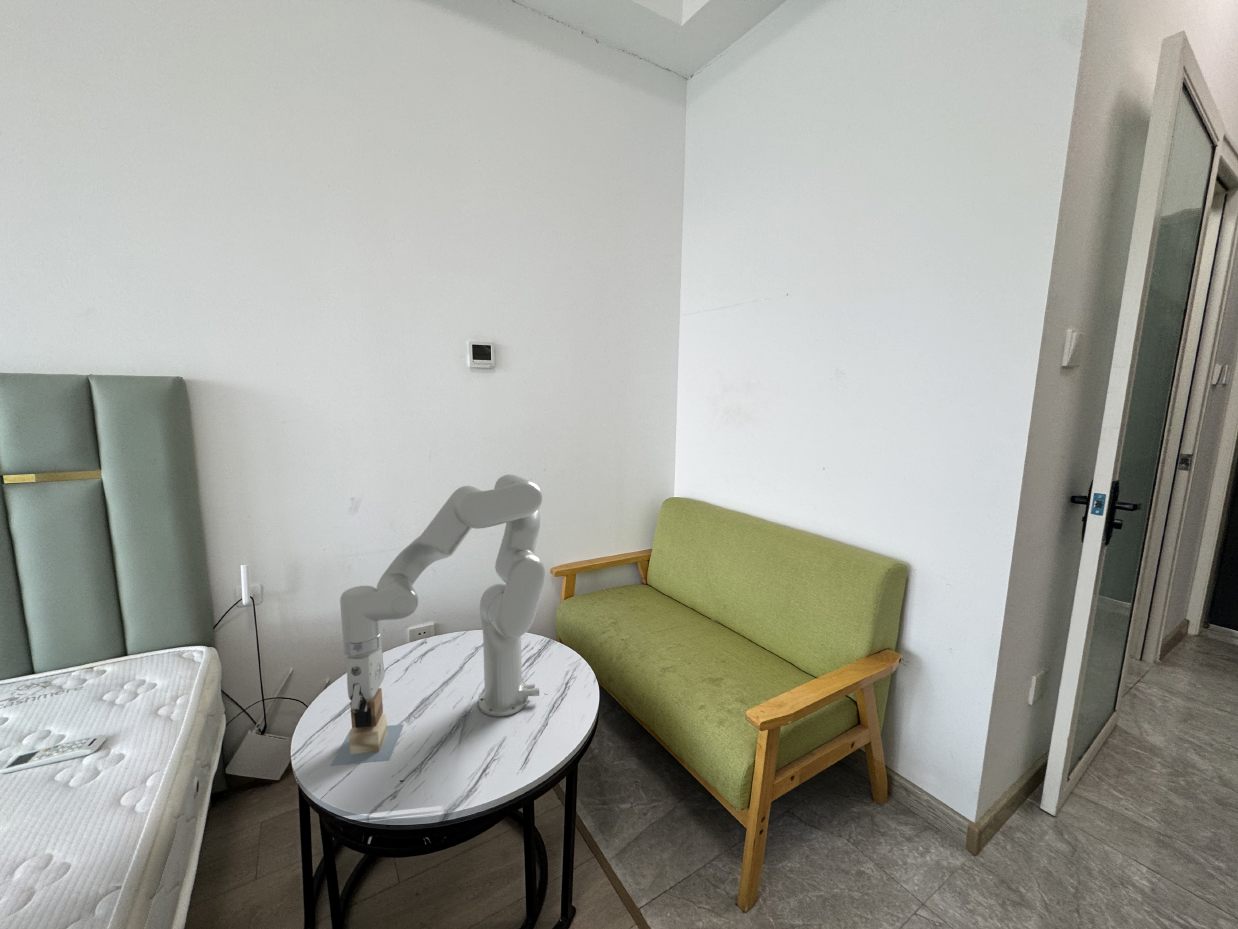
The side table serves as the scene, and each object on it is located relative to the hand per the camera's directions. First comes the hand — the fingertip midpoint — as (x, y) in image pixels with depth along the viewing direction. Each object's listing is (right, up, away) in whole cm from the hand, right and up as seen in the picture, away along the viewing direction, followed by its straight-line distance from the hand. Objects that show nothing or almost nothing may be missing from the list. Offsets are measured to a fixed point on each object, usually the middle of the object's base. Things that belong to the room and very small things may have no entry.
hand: (367, 717), depth 114 cm
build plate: (0, -7, +1) cm, 7 cm away
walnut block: (0, -1, 0) cm, 1 cm away
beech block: (0, -7, +1) cm, 7 cm away
